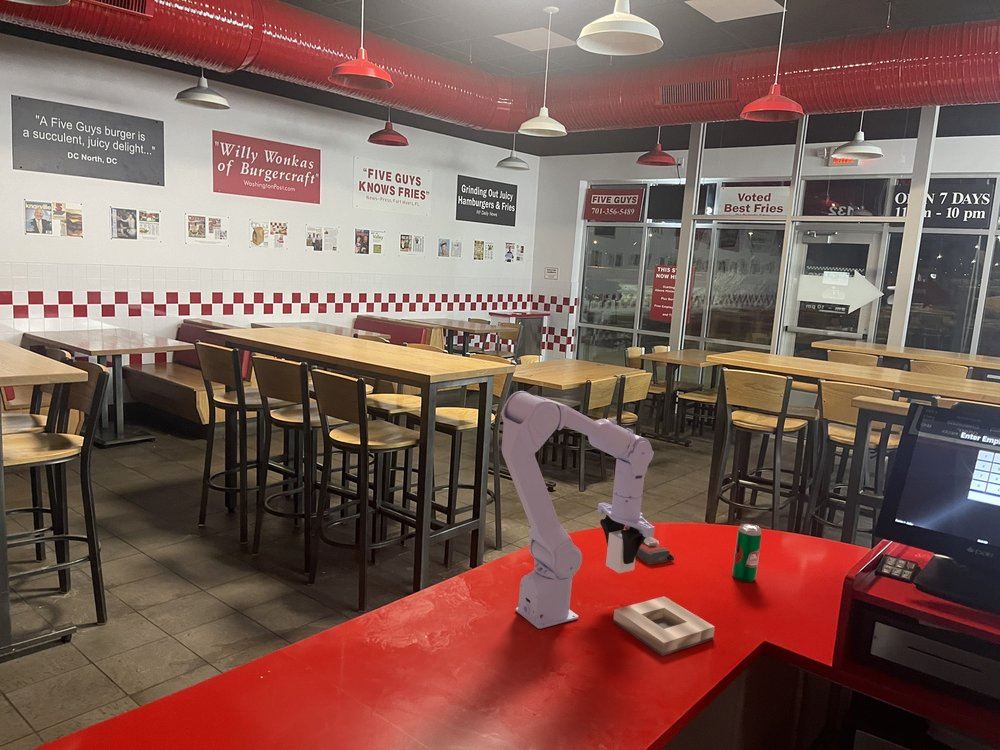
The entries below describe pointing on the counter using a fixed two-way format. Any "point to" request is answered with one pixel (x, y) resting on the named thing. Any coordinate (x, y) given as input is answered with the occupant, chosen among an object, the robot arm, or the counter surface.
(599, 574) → the counter surface
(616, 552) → the white rectangular block
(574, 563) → the robot arm
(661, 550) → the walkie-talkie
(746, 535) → the soda can
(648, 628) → the holder block
